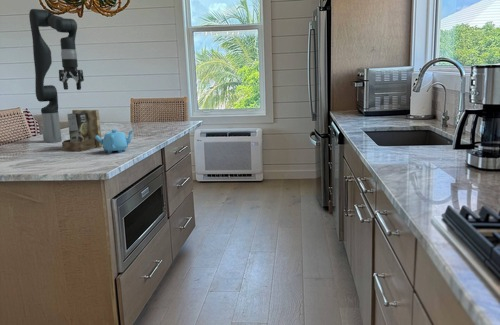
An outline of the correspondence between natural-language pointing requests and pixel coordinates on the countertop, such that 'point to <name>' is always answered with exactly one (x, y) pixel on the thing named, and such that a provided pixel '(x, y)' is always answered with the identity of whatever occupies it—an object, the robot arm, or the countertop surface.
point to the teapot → (115, 141)
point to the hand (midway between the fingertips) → (72, 89)
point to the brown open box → (79, 145)
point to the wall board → (92, 123)
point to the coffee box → (78, 127)
